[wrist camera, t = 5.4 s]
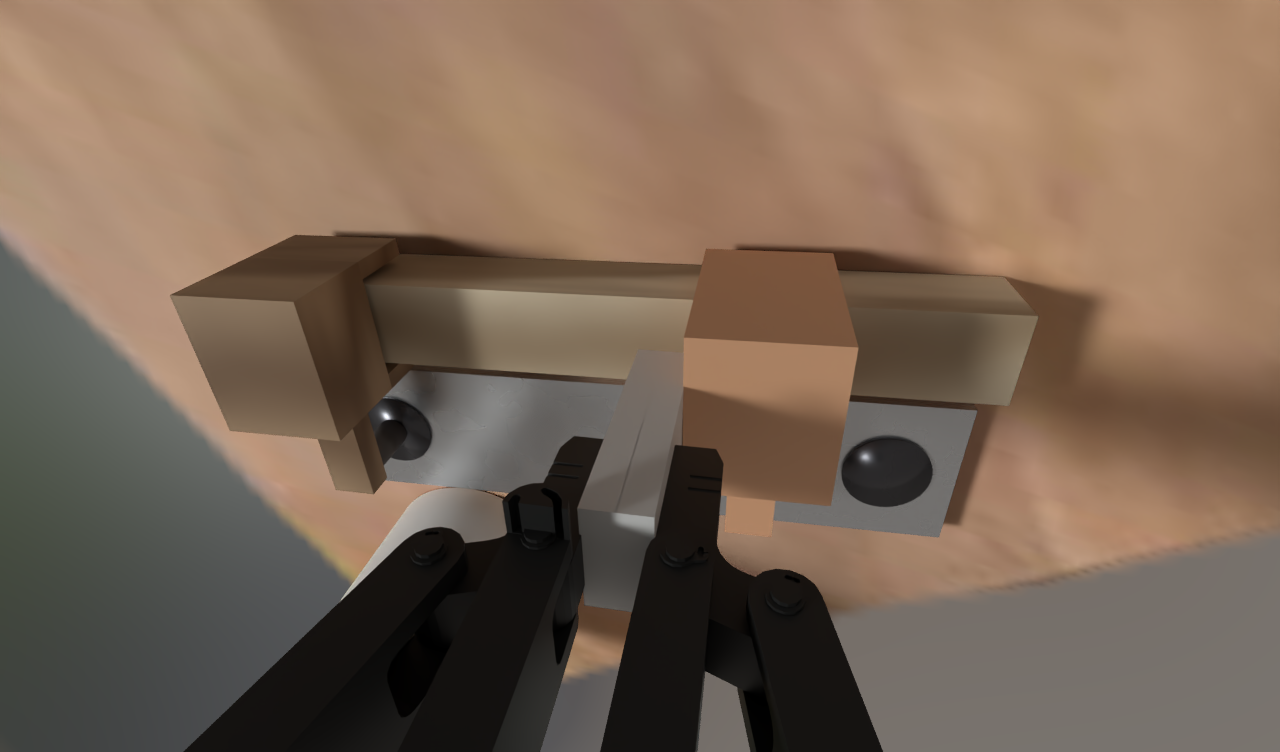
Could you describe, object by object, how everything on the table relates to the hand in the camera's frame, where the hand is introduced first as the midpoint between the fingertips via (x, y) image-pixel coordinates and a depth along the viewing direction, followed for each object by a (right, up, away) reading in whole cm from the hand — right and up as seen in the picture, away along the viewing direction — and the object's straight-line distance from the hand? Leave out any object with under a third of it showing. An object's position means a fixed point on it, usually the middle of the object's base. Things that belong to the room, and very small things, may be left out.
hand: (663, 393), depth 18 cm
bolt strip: (-1, -2, +8) cm, 8 cm away
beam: (-1, +3, +5) cm, 6 cm away
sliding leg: (+4, +1, +4) cm, 6 cm away
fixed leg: (-11, +2, +7) cm, 13 cm away
